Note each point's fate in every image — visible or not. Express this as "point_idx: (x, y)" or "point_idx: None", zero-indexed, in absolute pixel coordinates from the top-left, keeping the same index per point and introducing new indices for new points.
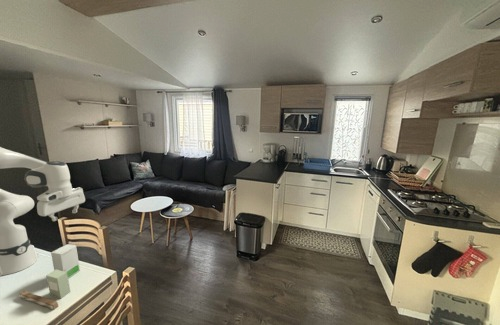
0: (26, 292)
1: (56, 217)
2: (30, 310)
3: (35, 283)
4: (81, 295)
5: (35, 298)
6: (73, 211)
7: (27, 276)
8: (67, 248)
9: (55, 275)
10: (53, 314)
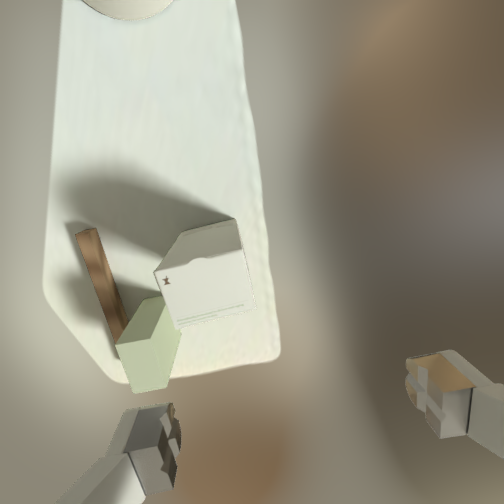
0: (91, 251)
1: (158, 490)
2: (93, 314)
3: (132, 191)
4: (191, 370)
5: (103, 306)
6: (429, 394)
7: (125, 106)
8: (217, 305)
9: (135, 372)
10: None
